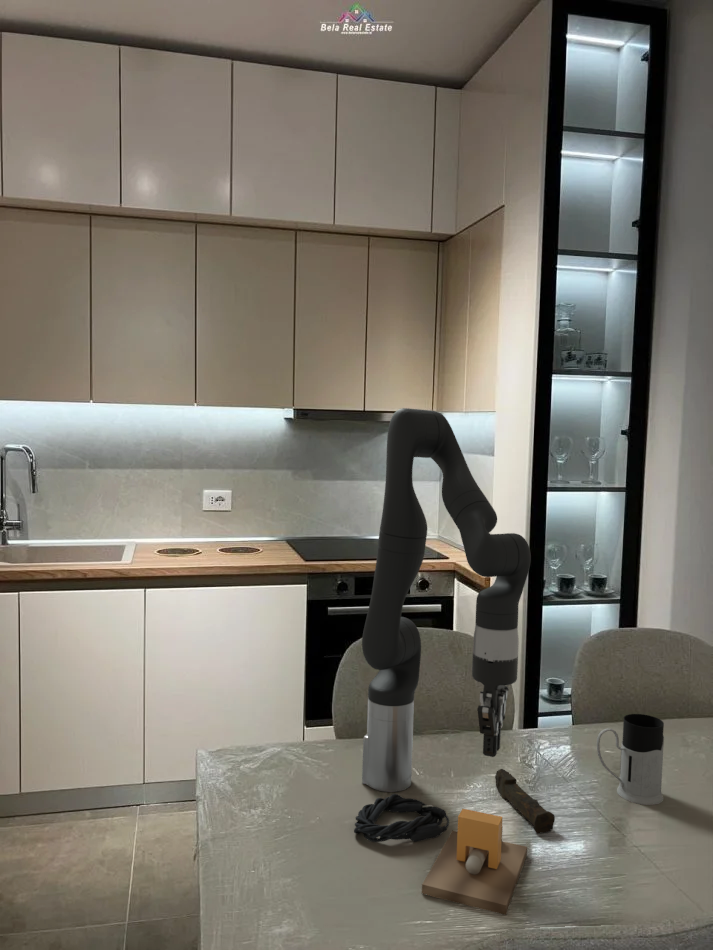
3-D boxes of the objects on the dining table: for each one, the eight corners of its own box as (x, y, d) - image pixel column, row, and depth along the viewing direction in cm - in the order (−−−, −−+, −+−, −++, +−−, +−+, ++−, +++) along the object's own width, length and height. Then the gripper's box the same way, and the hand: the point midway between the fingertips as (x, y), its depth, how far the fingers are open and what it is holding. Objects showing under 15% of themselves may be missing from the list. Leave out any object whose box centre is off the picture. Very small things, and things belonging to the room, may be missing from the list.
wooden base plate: (421, 893, 122) (422, 867, 122) (452, 838, 139) (452, 815, 138) (505, 915, 117) (507, 888, 117) (526, 855, 134) (527, 831, 134)
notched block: (456, 859, 129) (458, 816, 128) (461, 850, 131) (462, 808, 131) (496, 869, 126) (498, 825, 126) (500, 859, 129) (502, 816, 128)
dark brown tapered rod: (555, 833, 142) (556, 808, 142) (534, 835, 141) (536, 810, 141) (508, 786, 160) (510, 764, 160) (490, 788, 159) (491, 765, 159)
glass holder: (672, 803, 155) (676, 727, 154) (606, 808, 152) (610, 731, 151) (647, 783, 163) (650, 711, 162) (583, 787, 160) (587, 715, 159)
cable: (369, 857, 133) (369, 832, 132) (335, 818, 145) (336, 795, 145) (456, 837, 140) (457, 813, 140) (417, 802, 153) (418, 780, 152)
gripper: (482, 639, 141) (478, 734, 142) (463, 659, 128) (459, 764, 129) (525, 644, 138) (521, 741, 139) (509, 666, 125) (505, 772, 127)
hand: (491, 752), depth 134 cm, fingers closed
